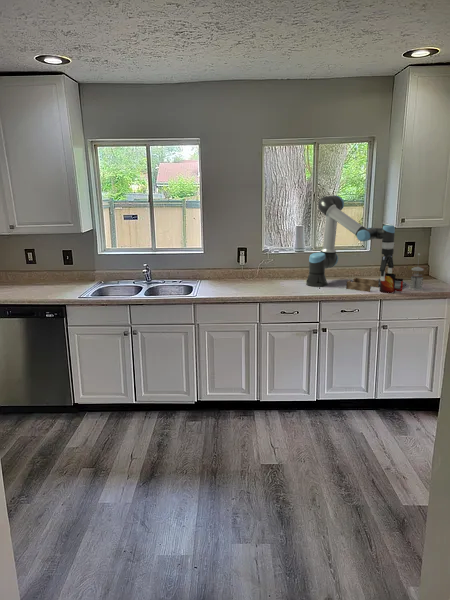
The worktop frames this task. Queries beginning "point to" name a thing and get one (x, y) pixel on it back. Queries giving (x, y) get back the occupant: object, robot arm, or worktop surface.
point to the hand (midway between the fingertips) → (386, 278)
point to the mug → (390, 283)
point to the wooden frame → (362, 284)
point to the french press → (416, 278)
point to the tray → (397, 284)
